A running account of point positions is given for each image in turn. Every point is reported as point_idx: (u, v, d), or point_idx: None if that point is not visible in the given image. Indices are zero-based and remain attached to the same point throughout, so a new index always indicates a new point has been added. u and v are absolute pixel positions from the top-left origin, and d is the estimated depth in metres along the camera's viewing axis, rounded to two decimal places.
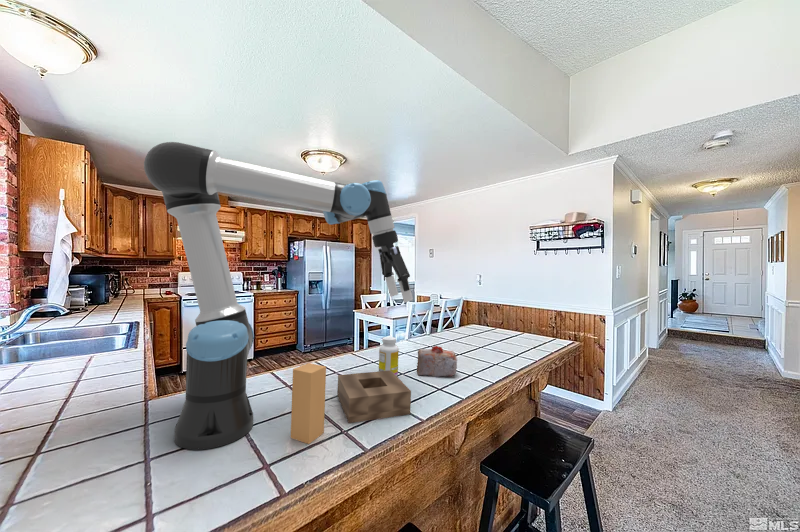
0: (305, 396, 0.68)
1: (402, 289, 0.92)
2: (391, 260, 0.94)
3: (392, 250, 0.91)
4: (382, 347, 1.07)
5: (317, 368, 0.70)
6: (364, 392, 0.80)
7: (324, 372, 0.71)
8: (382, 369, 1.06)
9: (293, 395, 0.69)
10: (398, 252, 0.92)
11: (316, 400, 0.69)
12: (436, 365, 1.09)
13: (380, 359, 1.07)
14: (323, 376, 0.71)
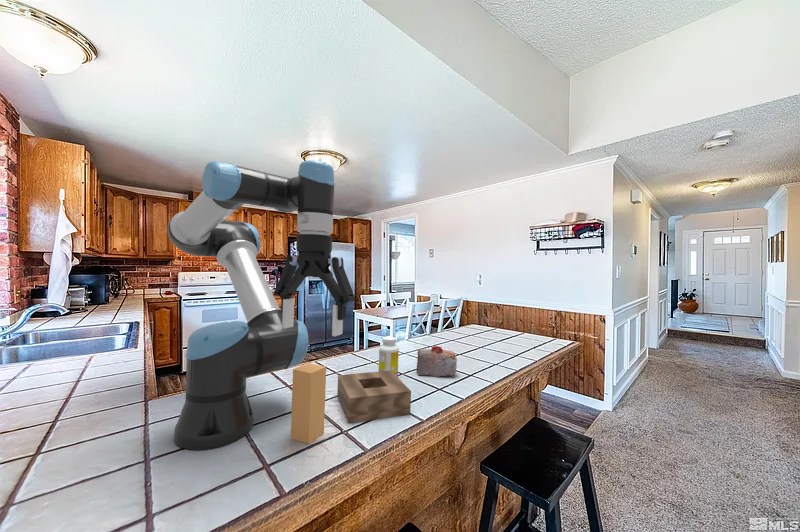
0: (305, 396, 0.67)
1: None
2: None
3: None
4: (382, 347, 1.07)
5: (317, 368, 0.70)
6: (364, 392, 0.80)
7: (324, 372, 0.71)
8: (382, 369, 1.06)
9: (293, 395, 0.69)
10: None
11: (316, 400, 0.69)
12: (436, 365, 1.09)
13: (380, 359, 1.07)
14: (323, 376, 0.71)
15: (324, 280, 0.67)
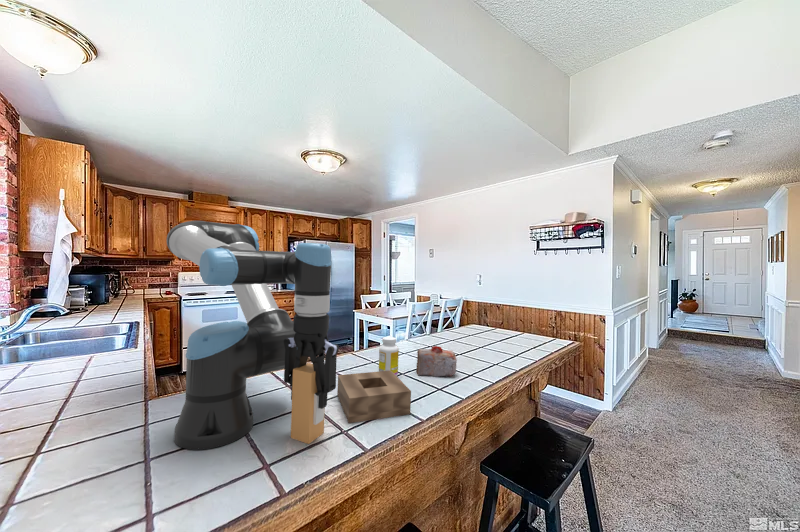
0: (305, 396, 0.67)
1: None
2: None
3: None
4: (382, 347, 1.07)
5: None
6: (364, 392, 0.80)
7: None
8: (382, 369, 1.06)
9: (293, 395, 0.69)
10: None
11: None
12: (436, 364, 1.09)
13: (380, 359, 1.07)
14: None
15: (314, 365, 0.68)
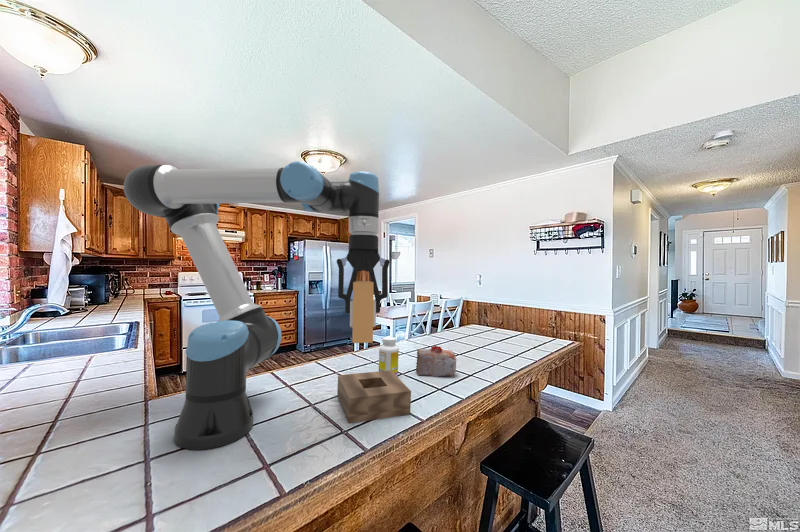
0: (367, 303, 0.79)
1: None
2: None
3: None
4: (382, 347, 1.07)
5: None
6: (364, 392, 0.80)
7: None
8: (382, 369, 1.06)
9: (354, 305, 0.78)
10: None
11: None
12: (436, 364, 1.09)
13: (380, 359, 1.07)
14: None
15: (372, 276, 0.80)
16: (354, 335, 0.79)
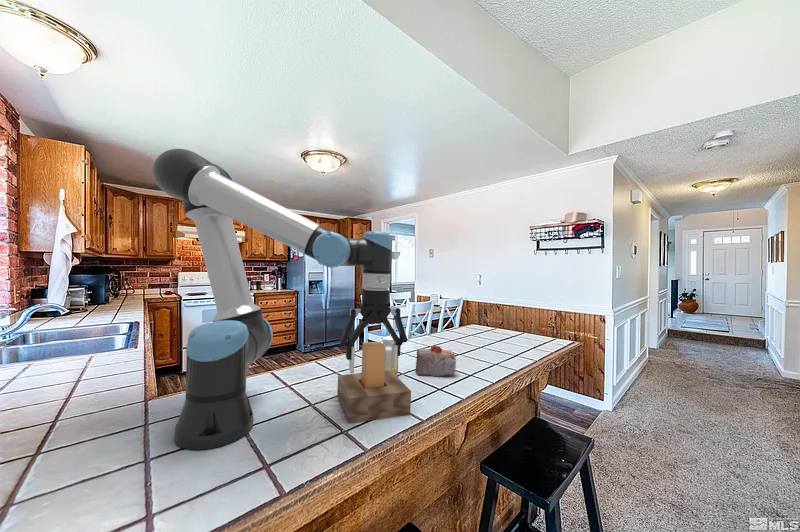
0: (380, 365, 0.84)
1: None
2: (360, 321, 0.86)
3: (349, 311, 0.85)
4: None
5: (379, 343, 0.87)
6: (364, 392, 0.80)
7: None
8: None
9: (368, 368, 0.83)
10: (350, 316, 0.83)
11: None
12: (435, 364, 1.09)
13: None
14: None
15: (388, 326, 0.86)
16: None
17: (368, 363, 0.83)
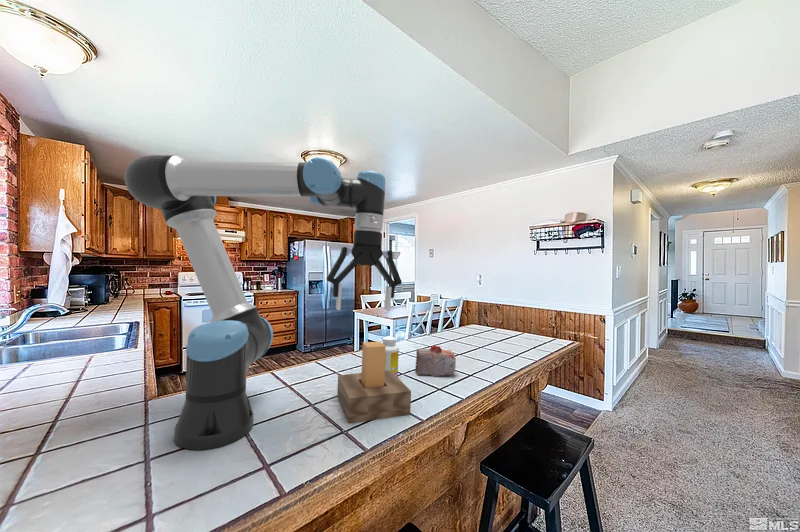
0: (379, 365, 0.84)
1: None
2: (351, 261, 0.85)
3: (341, 249, 0.84)
4: None
5: (379, 343, 0.87)
6: (364, 392, 0.80)
7: None
8: None
9: (368, 368, 0.83)
10: (341, 253, 0.82)
11: None
12: (435, 364, 1.09)
13: None
14: None
15: (381, 268, 0.86)
16: None
17: (368, 363, 0.83)
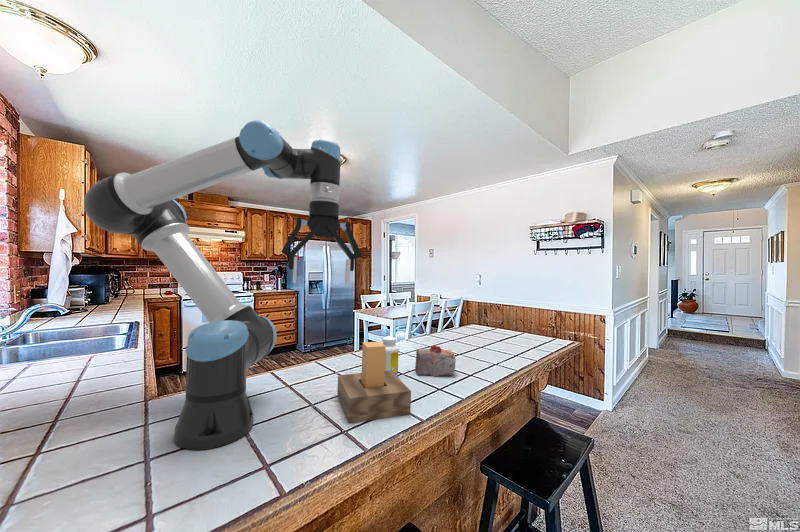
0: (379, 365, 0.84)
1: None
2: None
3: None
4: None
5: (379, 343, 0.87)
6: (364, 392, 0.80)
7: None
8: None
9: (368, 368, 0.83)
10: None
11: None
12: (435, 364, 1.09)
13: None
14: None
15: (339, 240, 0.84)
16: None
17: (368, 363, 0.83)
